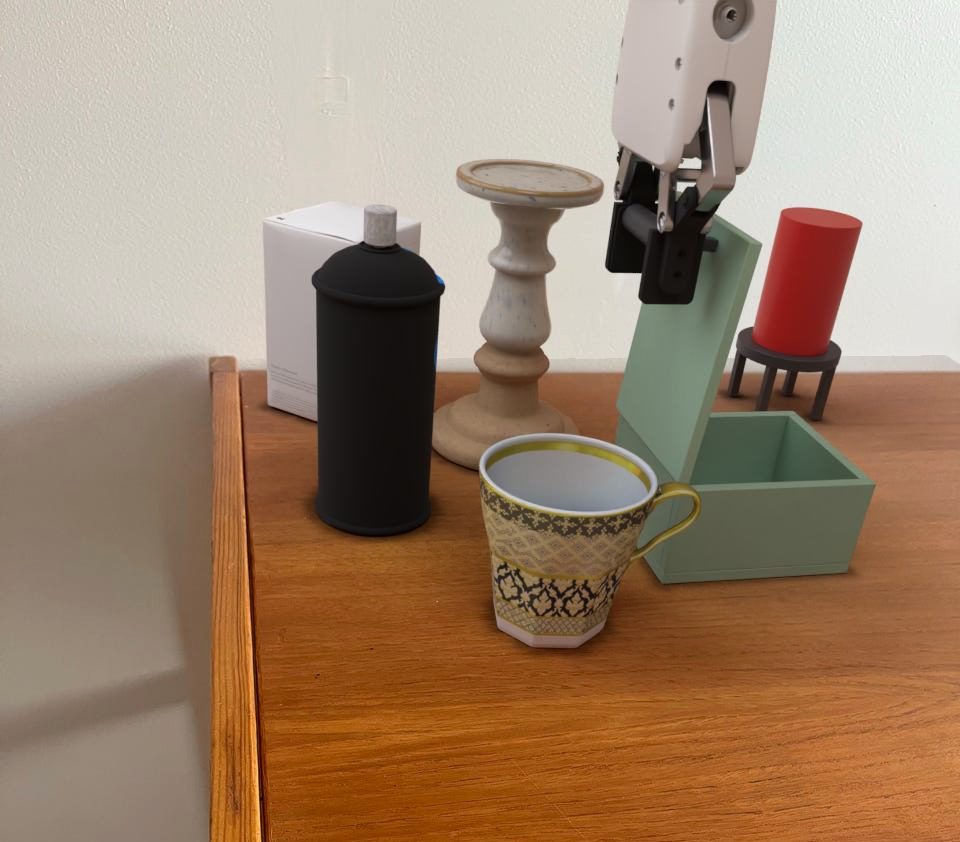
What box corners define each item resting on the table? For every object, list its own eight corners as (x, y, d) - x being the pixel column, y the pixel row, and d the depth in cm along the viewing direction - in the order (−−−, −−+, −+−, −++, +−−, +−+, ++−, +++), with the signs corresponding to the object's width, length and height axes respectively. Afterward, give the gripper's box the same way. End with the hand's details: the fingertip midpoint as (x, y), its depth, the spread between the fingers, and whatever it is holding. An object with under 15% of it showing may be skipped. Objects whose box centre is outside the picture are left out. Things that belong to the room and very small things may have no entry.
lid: (681, 191, 64) (608, 181, 63) (763, 243, 55) (680, 233, 54) (625, 408, 72) (559, 403, 71) (689, 484, 63) (615, 481, 62)
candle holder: (571, 487, 78) (613, 205, 66) (411, 463, 79) (424, 181, 67) (585, 423, 88) (624, 168, 76) (443, 402, 89) (460, 148, 77)
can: (805, 329, 94) (837, 208, 88) (841, 356, 89) (878, 228, 83) (738, 329, 92) (767, 205, 86) (771, 356, 87) (804, 227, 81)
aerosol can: (369, 550, 68) (376, 234, 56) (289, 503, 72) (281, 200, 61) (455, 512, 73) (478, 215, 61) (376, 470, 77) (383, 186, 66)
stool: (794, 387, 99) (811, 325, 95) (841, 426, 92) (861, 361, 88) (707, 388, 97) (721, 325, 93) (749, 428, 90) (765, 361, 86)
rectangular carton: (354, 437, 82) (356, 241, 73) (265, 407, 85) (257, 216, 76) (416, 402, 88) (425, 219, 80) (331, 376, 92) (331, 197, 83)
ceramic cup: (472, 666, 58) (487, 510, 53) (460, 573, 66) (472, 428, 61) (694, 670, 60) (732, 518, 54) (656, 578, 68) (686, 437, 62)
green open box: (770, 493, 80) (793, 410, 76) (846, 573, 70) (876, 483, 67) (604, 500, 76) (619, 413, 72) (661, 584, 67) (681, 491, 63)
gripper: (868, -72, 45) (767, 337, 55) (711, -85, 58) (653, 247, 69) (709, -89, 43) (637, 337, 54) (585, -97, 57) (546, 245, 67)
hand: (647, 283), depth 61 cm, fingers closed on lid, 5 cm apart
